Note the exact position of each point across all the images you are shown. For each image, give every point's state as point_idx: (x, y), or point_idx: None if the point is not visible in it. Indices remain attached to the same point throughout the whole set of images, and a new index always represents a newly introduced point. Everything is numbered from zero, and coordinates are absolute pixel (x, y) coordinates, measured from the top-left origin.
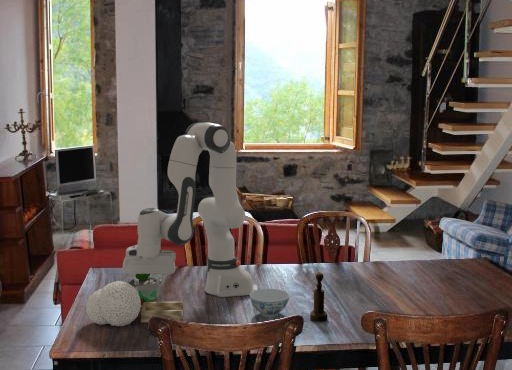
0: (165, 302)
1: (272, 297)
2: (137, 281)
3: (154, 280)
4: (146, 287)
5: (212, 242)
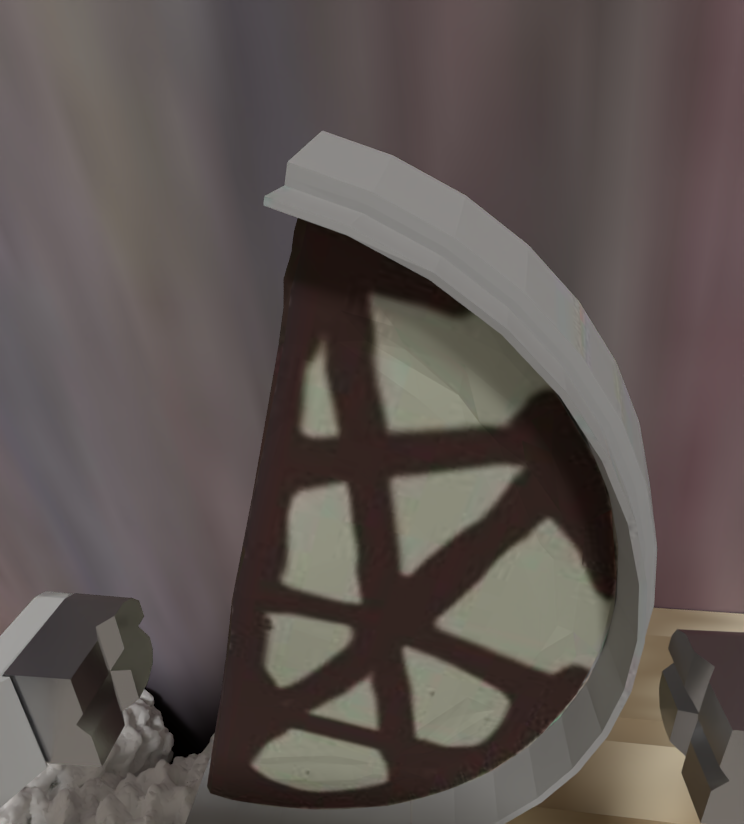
0: (669, 742)
1: None
2: (94, 736)
3: (542, 441)
4: (369, 815)
5: None
